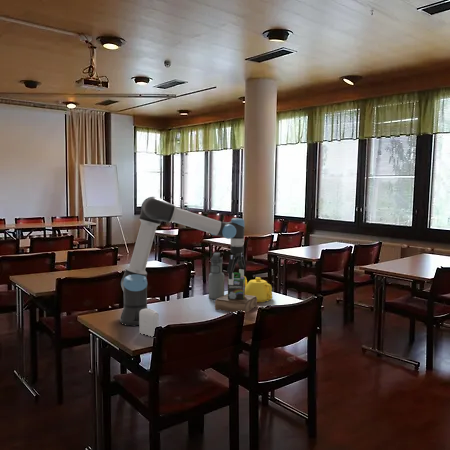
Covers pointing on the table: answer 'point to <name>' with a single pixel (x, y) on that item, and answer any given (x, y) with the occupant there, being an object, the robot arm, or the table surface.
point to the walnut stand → (235, 303)
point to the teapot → (258, 289)
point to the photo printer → (148, 321)
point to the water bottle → (216, 277)
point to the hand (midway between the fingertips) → (236, 282)
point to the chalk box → (237, 287)
